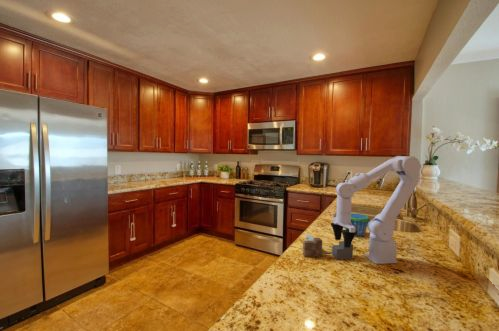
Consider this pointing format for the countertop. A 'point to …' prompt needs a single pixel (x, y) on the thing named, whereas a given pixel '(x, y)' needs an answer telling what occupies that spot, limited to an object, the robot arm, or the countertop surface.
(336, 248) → the stepped block
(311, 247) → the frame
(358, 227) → the snack cup
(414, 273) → the countertop surface
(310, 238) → the pale grey bar
